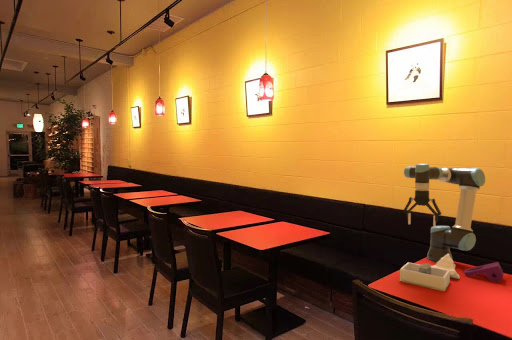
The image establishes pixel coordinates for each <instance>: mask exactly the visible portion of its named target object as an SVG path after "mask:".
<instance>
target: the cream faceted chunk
mask: <svg viewBox="0 0 512 340" xmlns="http://www.w3.org/2000/svg"><path fill="white" fill-rule="evenodd" d="M431 267H435V268H440V269H445V270H450V279H458V280H460V277H461V275H460V274H459V273H458V272H457V271H456V264H455V262H454V260H453V258H452V259H451V257H450V255H449V254H447V255H445V256H444V257H442V258H441V260H439V261H438V262H437V261H436V262H435V264H434V265H431Z"/></svg>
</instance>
